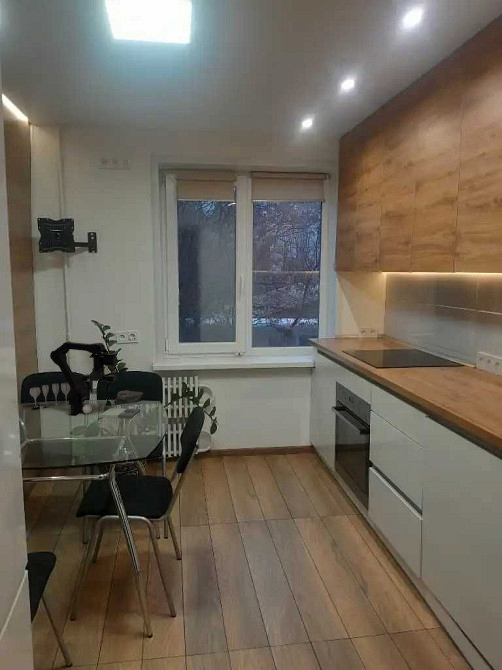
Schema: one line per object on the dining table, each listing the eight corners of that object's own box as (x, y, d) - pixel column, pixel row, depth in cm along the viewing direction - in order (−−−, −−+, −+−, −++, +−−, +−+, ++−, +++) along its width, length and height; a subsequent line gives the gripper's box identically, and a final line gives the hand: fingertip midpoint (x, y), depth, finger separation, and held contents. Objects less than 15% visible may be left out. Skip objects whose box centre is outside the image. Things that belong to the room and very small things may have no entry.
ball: (85, 416, 277) (79, 410, 277) (89, 414, 282) (83, 408, 282) (91, 410, 276) (84, 404, 276) (95, 407, 281) (88, 401, 281)
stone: (117, 402, 290) (114, 387, 295) (113, 408, 296) (111, 393, 301) (147, 400, 300) (144, 385, 305) (142, 406, 306) (139, 392, 311)
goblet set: (79, 402, 306) (78, 381, 304) (80, 404, 300) (80, 382, 299) (30, 407, 293) (29, 385, 292) (30, 409, 288) (29, 387, 287)
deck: (100, 417, 271) (100, 414, 271) (110, 410, 285) (110, 408, 285) (132, 418, 269) (131, 415, 269) (140, 411, 283) (140, 409, 283)
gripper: (76, 367, 269) (77, 395, 270) (109, 368, 267) (110, 396, 268) (85, 364, 280) (86, 391, 281) (116, 365, 278) (117, 392, 279)
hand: (99, 393), depth 277 cm, fingers open, 9 cm apart
